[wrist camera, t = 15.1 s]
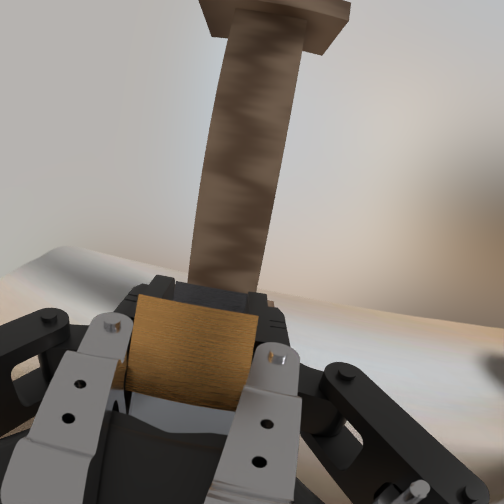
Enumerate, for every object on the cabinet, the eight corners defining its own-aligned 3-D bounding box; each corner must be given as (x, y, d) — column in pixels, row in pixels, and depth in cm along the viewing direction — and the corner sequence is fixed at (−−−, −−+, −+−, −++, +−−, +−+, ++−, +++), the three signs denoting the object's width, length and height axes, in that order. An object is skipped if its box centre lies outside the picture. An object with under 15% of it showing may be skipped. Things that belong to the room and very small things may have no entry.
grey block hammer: (242, 351, 22) (250, 300, 23) (282, 416, 7) (305, 262, 8) (177, 340, 22) (185, 289, 23) (90, 379, 7) (116, 229, 7)
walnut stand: (270, 312, 36) (327, 19, 26) (276, 364, 27) (353, -22, 16) (171, 295, 36) (220, 1, 25) (146, 342, 26) (210, -46, 16)
